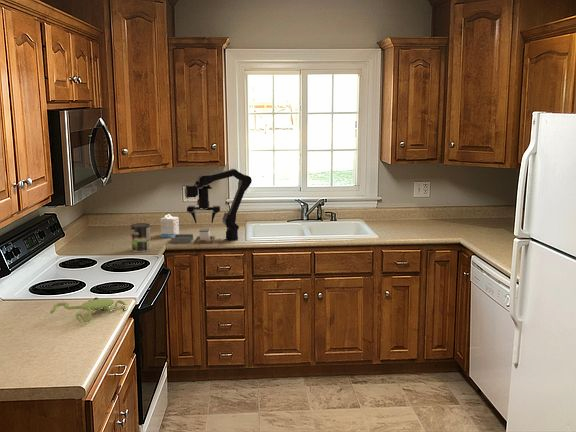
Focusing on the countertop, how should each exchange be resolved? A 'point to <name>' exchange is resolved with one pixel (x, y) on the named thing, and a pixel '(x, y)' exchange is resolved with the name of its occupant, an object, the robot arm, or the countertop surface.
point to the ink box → (169, 226)
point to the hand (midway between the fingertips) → (204, 223)
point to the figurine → (90, 306)
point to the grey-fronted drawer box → (204, 234)
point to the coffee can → (140, 237)
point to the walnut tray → (204, 240)
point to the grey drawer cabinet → (182, 238)
